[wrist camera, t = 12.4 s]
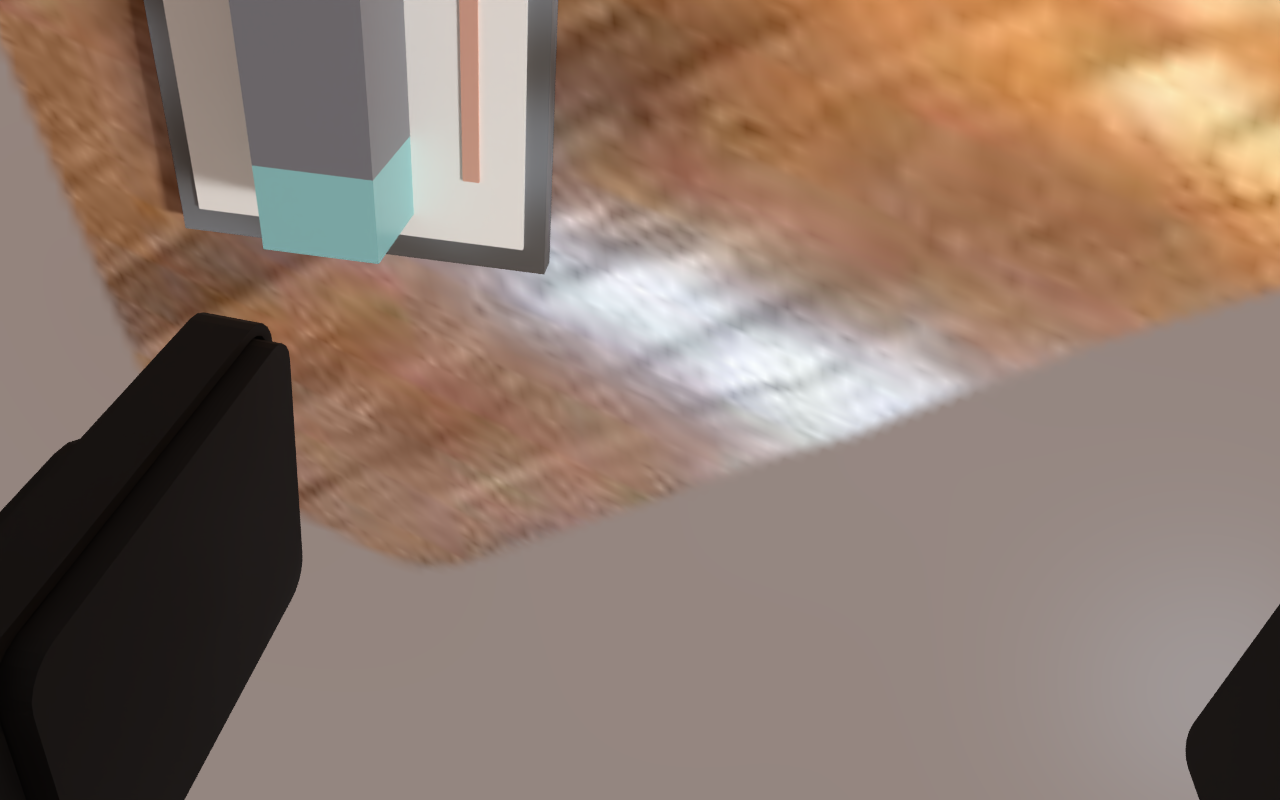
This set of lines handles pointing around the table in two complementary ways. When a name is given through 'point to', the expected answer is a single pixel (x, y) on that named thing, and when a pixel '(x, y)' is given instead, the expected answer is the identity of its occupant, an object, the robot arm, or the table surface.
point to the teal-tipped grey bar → (327, 123)
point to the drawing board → (438, 116)
